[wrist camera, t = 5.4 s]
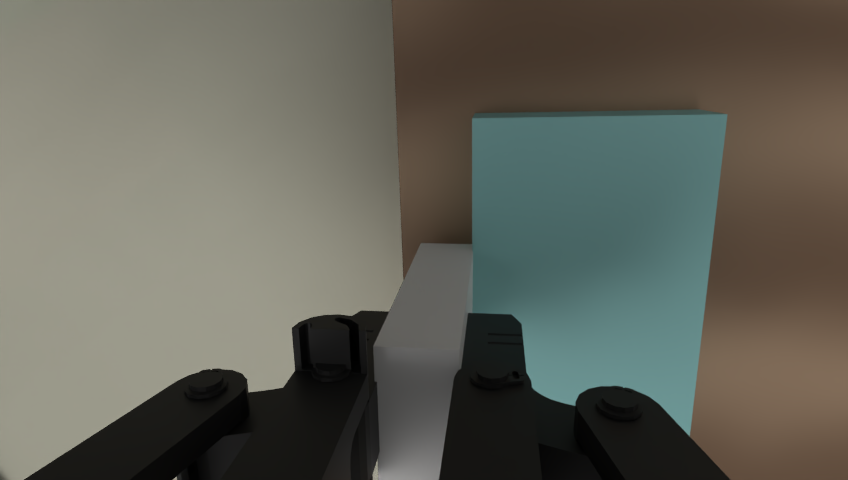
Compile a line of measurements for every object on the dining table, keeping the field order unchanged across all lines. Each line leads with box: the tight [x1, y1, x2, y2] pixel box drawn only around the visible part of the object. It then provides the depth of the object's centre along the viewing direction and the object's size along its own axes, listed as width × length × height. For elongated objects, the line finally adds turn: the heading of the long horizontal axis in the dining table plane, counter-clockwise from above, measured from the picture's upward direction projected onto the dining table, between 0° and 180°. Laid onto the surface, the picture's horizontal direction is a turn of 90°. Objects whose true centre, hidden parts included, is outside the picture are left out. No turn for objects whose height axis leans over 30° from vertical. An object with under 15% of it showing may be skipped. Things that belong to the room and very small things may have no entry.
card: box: [472, 109, 727, 436], centre depth 16 cm, size 9×6×2 cm, turn 1°
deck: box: [392, 0, 848, 480], centre depth 19 cm, size 22×14×4 cm, turn 2°
